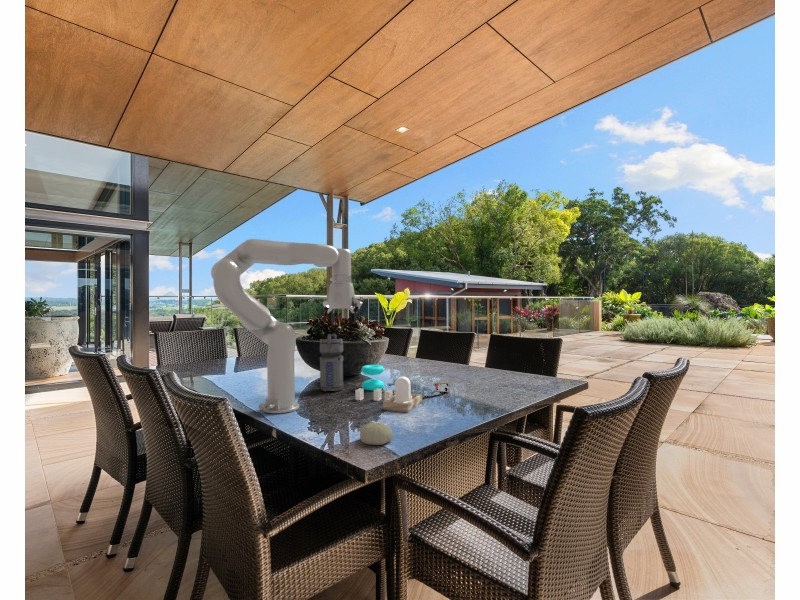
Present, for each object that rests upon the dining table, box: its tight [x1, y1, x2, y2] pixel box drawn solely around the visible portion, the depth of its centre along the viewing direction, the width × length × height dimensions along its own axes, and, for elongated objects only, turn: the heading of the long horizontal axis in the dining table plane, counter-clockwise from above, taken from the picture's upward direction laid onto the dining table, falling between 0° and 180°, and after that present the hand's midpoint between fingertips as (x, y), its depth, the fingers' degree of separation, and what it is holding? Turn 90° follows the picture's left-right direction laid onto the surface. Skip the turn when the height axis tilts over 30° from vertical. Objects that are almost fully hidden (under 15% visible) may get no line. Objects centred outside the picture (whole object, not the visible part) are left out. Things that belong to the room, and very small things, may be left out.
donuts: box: [361, 364, 385, 391], centre depth 180 cm, size 10×10×10 cm
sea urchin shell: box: [359, 421, 394, 446], centre depth 113 cm, size 9×8×8 cm
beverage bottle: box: [319, 333, 345, 392], centre depth 179 cm, size 10×13×25 cm
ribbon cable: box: [382, 382, 451, 399], centre depth 173 cm, size 29×1×30 cm
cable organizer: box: [393, 376, 412, 403], centre depth 150 cm, size 5×10×10 cm, turn 167°
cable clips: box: [354, 388, 394, 402], centre depth 159 cm, size 5×14×4 cm, turn 67°
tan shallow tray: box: [382, 393, 423, 413], centre depth 150 cm, size 15×10×3 cm, turn 157°
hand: (342, 323), depth 160 cm, fingers open, 9 cm apart
